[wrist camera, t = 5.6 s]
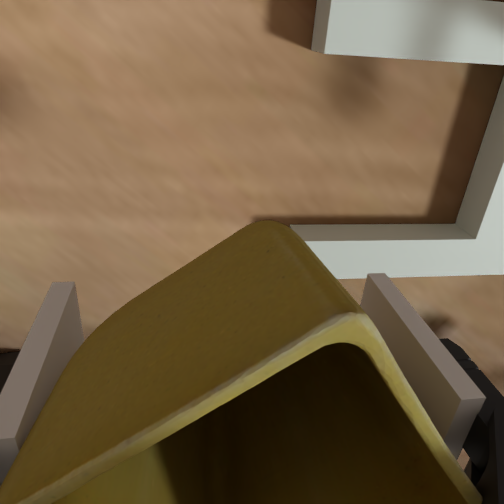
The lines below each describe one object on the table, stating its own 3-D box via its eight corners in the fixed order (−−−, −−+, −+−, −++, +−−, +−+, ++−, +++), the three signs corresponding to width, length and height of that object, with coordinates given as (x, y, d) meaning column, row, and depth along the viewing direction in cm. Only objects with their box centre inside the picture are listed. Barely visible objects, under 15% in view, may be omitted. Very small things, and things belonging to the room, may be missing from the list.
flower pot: (64, 284, 16) (-46, 549, 8) (262, 150, 14) (365, 309, 7) (203, 407, 20) (221, 657, 12) (365, 312, 19) (501, 524, 11)
